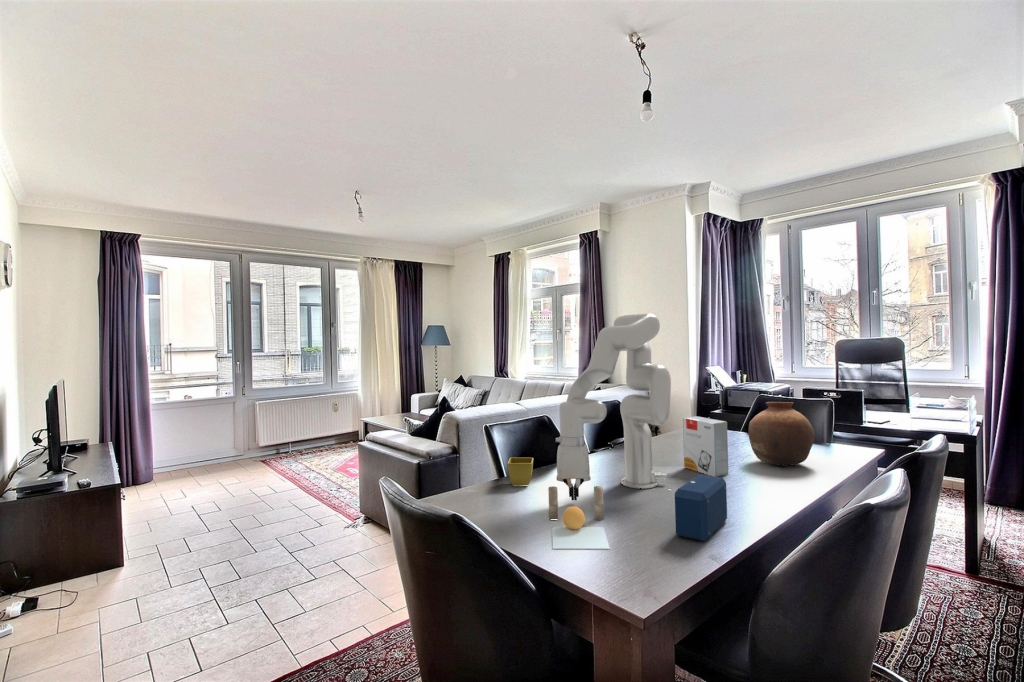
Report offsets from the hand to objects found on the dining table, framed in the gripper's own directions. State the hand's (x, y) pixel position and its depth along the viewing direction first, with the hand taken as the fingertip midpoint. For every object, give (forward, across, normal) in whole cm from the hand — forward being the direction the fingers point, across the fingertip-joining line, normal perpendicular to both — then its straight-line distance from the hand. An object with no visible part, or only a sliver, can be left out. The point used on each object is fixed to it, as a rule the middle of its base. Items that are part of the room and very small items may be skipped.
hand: (574, 499), depth 156 cm
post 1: (+2, -7, -13) cm, 15 cm away
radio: (+2, +33, -20) cm, 39 cm away
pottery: (+2, +84, +46) cm, 96 cm away
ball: (-2, -1, -21) cm, 21 cm away
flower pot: (+2, -18, +21) cm, 28 cm away
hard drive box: (+2, +52, +37) cm, 64 cm away
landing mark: (+2, 0, -27) cm, 27 cm away
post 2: (+2, +7, -13) cm, 15 cm away
